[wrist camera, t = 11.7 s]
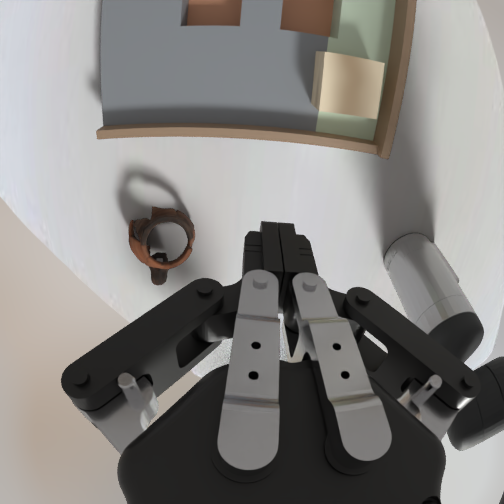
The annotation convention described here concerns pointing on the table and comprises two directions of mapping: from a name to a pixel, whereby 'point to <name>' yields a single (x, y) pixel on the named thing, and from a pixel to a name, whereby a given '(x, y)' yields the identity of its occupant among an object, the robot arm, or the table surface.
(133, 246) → the brown curved piece
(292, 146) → the table surface
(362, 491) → the robot arm
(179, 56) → the board
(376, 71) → the maple block
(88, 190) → the table surface
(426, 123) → the table surface
